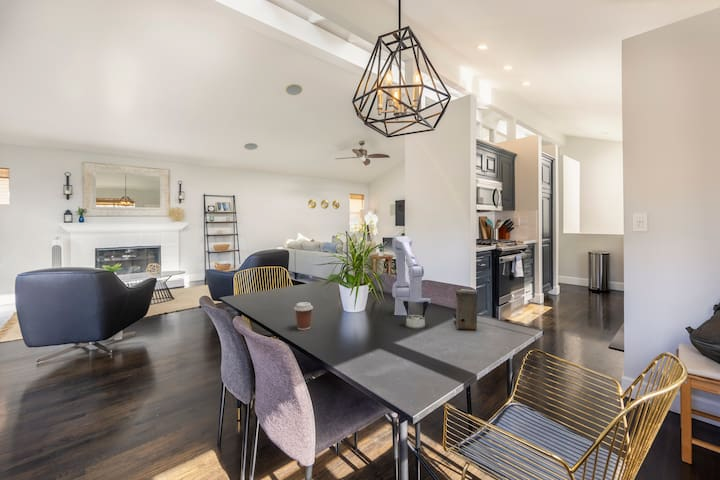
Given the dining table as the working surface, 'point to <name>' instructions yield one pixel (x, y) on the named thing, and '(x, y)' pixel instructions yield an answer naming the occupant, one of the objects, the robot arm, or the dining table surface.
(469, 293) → the vintage camera
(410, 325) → the lens barrel
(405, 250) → the robot arm
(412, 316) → the beige short cylinder
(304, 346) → the dining table surface
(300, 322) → the coffee cup
